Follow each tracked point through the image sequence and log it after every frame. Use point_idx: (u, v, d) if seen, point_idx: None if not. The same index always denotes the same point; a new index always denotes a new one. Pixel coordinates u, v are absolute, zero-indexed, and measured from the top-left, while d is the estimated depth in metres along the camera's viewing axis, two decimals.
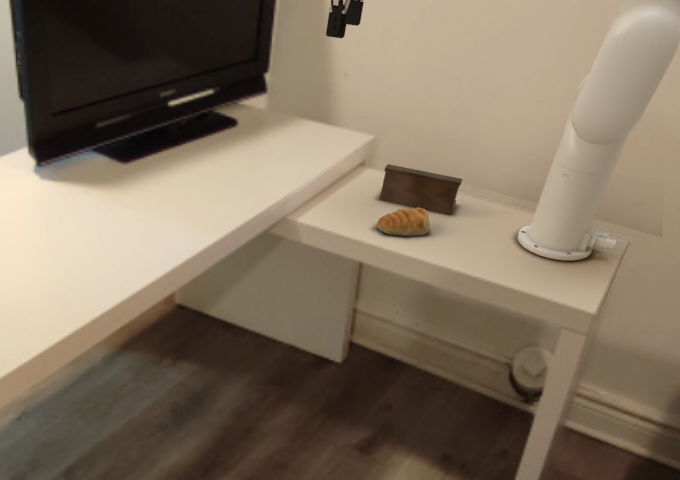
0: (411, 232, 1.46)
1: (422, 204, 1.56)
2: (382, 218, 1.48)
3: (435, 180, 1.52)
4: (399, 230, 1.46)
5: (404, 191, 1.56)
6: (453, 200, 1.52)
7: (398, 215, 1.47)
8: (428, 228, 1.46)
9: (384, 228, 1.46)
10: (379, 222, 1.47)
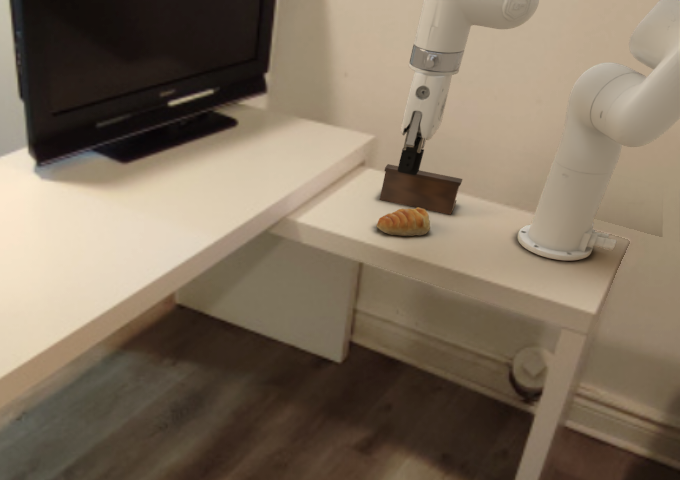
0: (411, 232, 1.46)
1: (422, 204, 1.56)
2: (382, 218, 1.48)
3: (435, 180, 1.52)
4: (399, 230, 1.46)
5: (404, 191, 1.56)
6: (453, 200, 1.52)
7: (398, 215, 1.47)
8: (428, 228, 1.46)
9: (384, 228, 1.46)
10: (379, 222, 1.47)
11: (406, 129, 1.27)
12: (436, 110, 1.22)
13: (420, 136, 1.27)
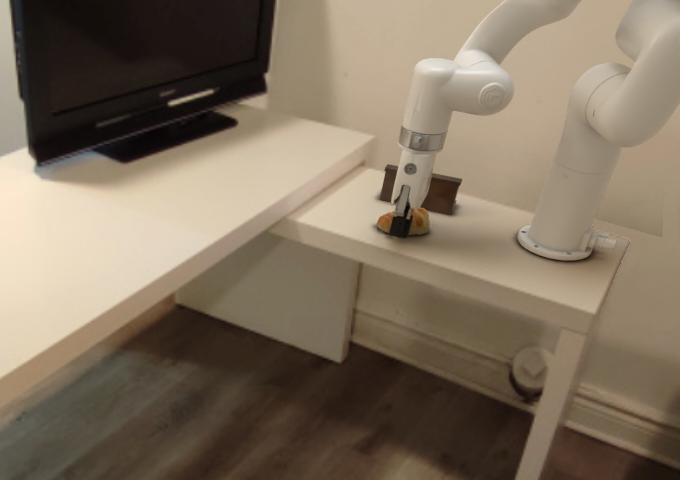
0: (411, 231, 1.46)
1: (422, 204, 1.56)
2: (382, 217, 1.48)
3: (435, 180, 1.52)
4: None
5: None
6: (453, 200, 1.52)
7: None
8: (428, 227, 1.47)
9: (383, 227, 1.47)
10: (379, 221, 1.48)
11: (396, 199, 1.39)
12: (423, 184, 1.34)
13: (409, 205, 1.39)
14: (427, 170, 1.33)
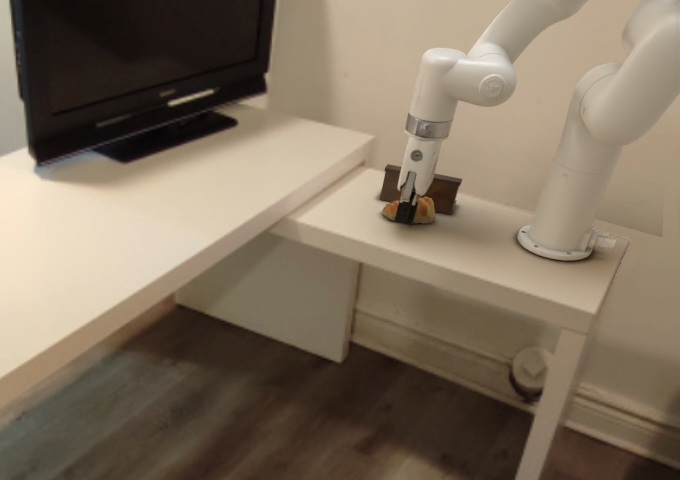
0: (415, 219, 1.50)
1: None
2: (388, 204, 1.52)
3: (435, 180, 1.52)
4: None
5: None
6: (453, 200, 1.52)
7: None
8: (432, 217, 1.50)
9: (388, 214, 1.51)
10: (384, 208, 1.52)
11: (402, 185, 1.43)
12: (428, 171, 1.37)
13: (415, 191, 1.43)
14: (433, 157, 1.37)
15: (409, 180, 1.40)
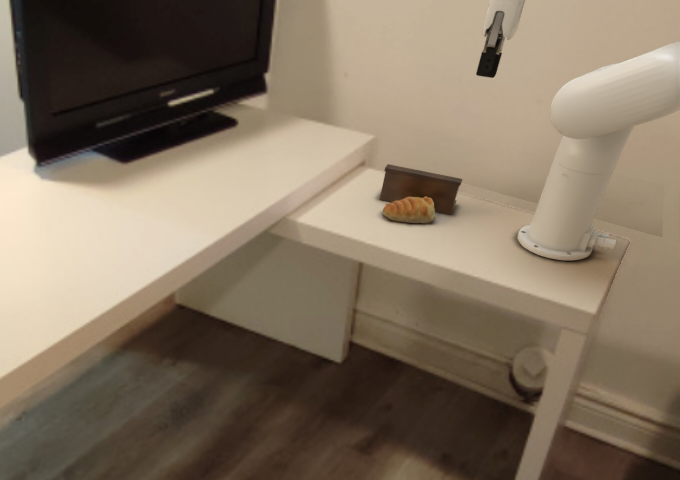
0: (415, 219, 1.50)
1: None
2: (388, 204, 1.52)
3: (435, 180, 1.52)
4: (402, 217, 1.50)
5: (404, 191, 1.56)
6: (453, 200, 1.52)
7: (403, 202, 1.51)
8: (432, 217, 1.50)
9: (388, 214, 1.51)
10: (385, 208, 1.52)
11: (487, 31, 1.36)
12: (518, 9, 1.31)
13: (500, 38, 1.36)
14: None
15: (496, 22, 1.33)
